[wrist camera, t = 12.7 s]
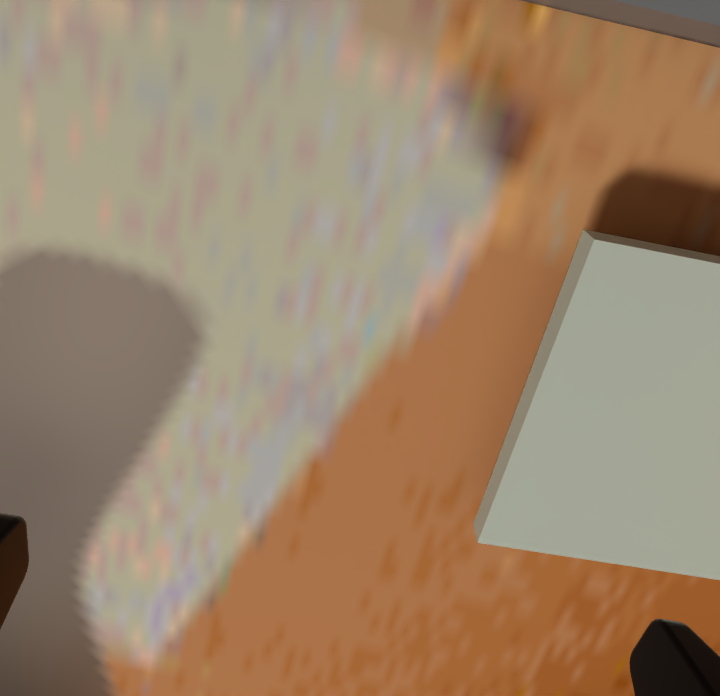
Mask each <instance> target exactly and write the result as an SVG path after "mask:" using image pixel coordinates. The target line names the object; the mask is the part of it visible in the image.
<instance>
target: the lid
mask: <svg viewBox="0 0 720 696" xmlns="http://www.w3.org/2000/svg"><path fill="white" fill-rule="evenodd" d="M474 528H475V533H476V538H477V542H478V543H483V544H490V545H496V546H503V547H509V548H516V549H522V550H528V551H535V552H541V553H548V554H554V555H561V556H567V557H574V558H580V559H587V560H593V561H600V562H606V563H613V564H619V565H626V566H632V567H639V568H645V569H652V570H658V571H665V572H671V573H678V574H684V575H691V576H697V577H704V578H710V579H717V580H720V256H716V255H711V254H706V253H701V252H696V251H691V250H686V249H681V248H676V247H671V246H666V245H660V244H655V243H650V242H645V241H640V240H635V239H630V238H625V237H620V236H615V235H610V234H605V233H600V232H595V231H590V230H584V229H583V232H582V234H581V237H580V240H579V242H578V245H577V248H576V250H575V253H574V256H573V258H572V261H571V264H570V266H569V269H568V272H567V274H566V277H565V280H564V283H563V285H562V288H561V291H560V293H559V296H558V299H557V301H556V304H555V307H554V309H553V312H552V315H551V317H550V320H549V323H548V325H547V328H546V331H545V333H544V336H543V339H542V341H541V344H540V347H539V349H538V352H537V355H536V357H535V360H534V363H533V366H532V368H531V371H530V374H529V376H528V379H527V382H526V384H525V387H524V390H523V392H522V395H521V398H520V400H519V403H518V406H517V408H516V411H515V414H514V416H513V419H512V422H511V424H510V427H509V430H508V432H507V435H506V438H505V440H504V443H503V446H502V449H501V451H500V454H499V457H498V459H497V462H496V465H495V467H494V470H493V473H492V475H491V478H490V481H489V483H488V486H487V489H486V491H485V494H484V497H483V499H482V502H481V505H480V507H479V510H478V513H477V515H476V518H475V521H474Z"/></svg>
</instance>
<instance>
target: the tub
mask: <svg viewBox="0 0 720 696" xmlns="http://www.w3.org/2000/svg"><path fill="white" fill-rule="evenodd" d="M521 1H526V2H530V3H534V4H538V5H542V6H547V7H551V8H555V9H559V10H563V11H568V12H572V13H576V14H580V15H585V16H589V17H593V18H597V19H601V20H606V21H610V22H614V23H618V24H622V25H627V26H631V27H635V28H639V29H643V30H648V31H652V32H656V33H660V34H665V35H669V36H673V37H677V38H681V39H686V40H690V41H694V42H698V43H702V44H707V45H711V46H715V47H719V48H720V0H521Z"/></svg>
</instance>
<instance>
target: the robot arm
mask: <svg viewBox="0 0 720 696" xmlns="http://www.w3.org/2000/svg"><path fill="white" fill-rule="evenodd" d="M28 563H29V552H28V539H27V525H26V521H25V520H24V519H23V518H22V517H20V516H15V515H8V514H2V513H0V629H1V626H2V625H3V622H4V620H5V618H6V616H7V614H8V612H9V610H10V607H11V605H12V603H13V601H14V599H15V597H16V595H17V593H18V590H19V588H20V586H21V584H22V582H23V580H24V577H25V575H26V572H27V569H28ZM630 673H631V677H632V682H633V687H634V692H635V696H720V656H719V655H717V654H716V653H715V652H714V651H713V650H712V649H711V648H710V647H709V646H708V645H707V644H706V643H705V642H704V641H703V640H702V639H701V638H700V637H699V636H698V635H697V634H696V633H695V632H694V631H693V630H691V629H690V628H689V627H688V626H687V625H685V624H683V623H681V622H677V621H671V620H664V619H656V620H654V621H652V622H651V623H650V624H649V626H648V628H647V629H646V631H645V632H644V634H643V635H642V637H641V638H640V640H639V642H638V643H637V645H636V646H635V648H634V649H633V651H632V653H631V657H630Z"/></svg>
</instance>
